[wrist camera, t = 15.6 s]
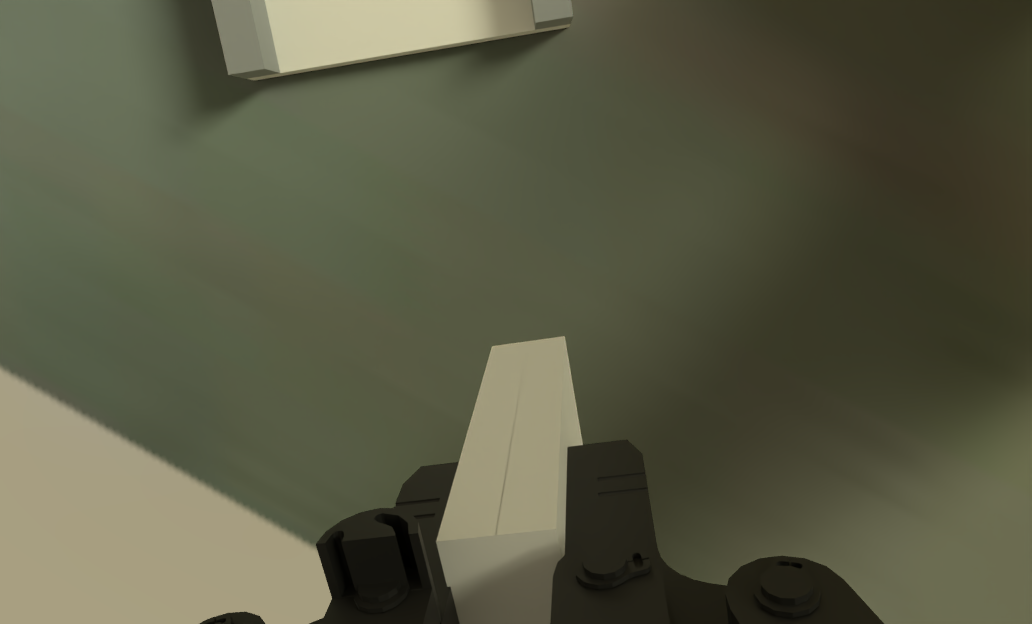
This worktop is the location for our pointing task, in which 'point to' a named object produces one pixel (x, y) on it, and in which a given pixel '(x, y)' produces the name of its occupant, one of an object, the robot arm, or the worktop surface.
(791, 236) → the worktop surface
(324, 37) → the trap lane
